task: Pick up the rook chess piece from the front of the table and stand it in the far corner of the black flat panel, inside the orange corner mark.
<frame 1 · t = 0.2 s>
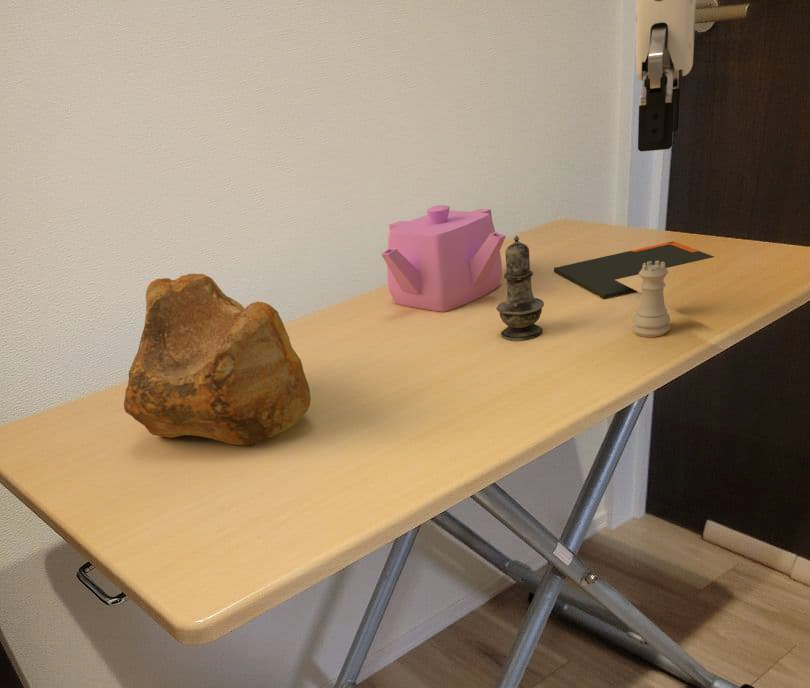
hand: (658, 140, 82), 21 cm above the table, tool pointing down, fingers open, 9 cm apart
rough brown rock: (214, 427, 90), on the table
rook chess piece: (651, 332, 96), on the table
salt shaker: (521, 334, 101), on the table
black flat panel: (640, 270, 116), on the table
teakettle: (447, 296, 118), on the table
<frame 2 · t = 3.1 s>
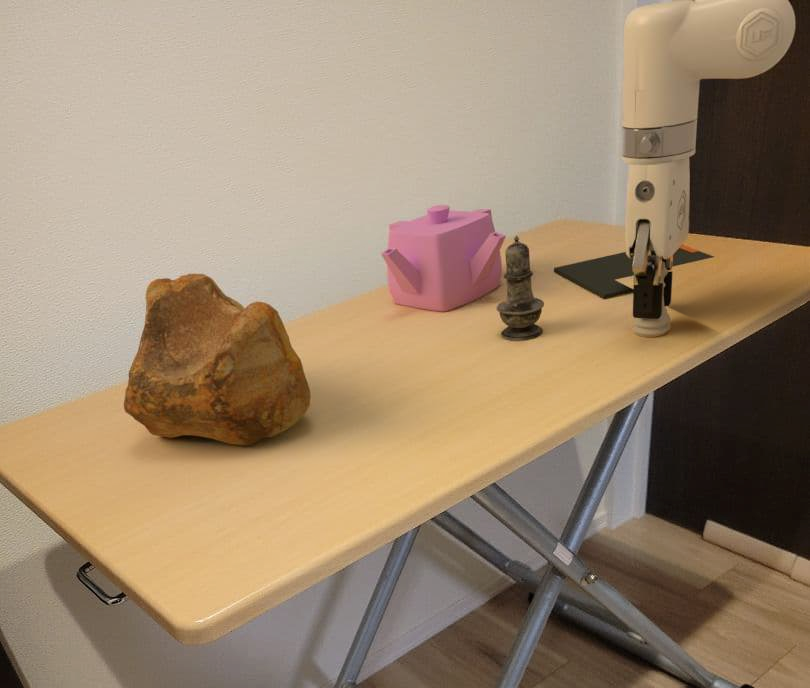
hand: (652, 309, 94), 3 cm above the table, tool pointing down, fingers closed on rook chess piece, 3 cm apart
rook chess piece: (651, 332, 96), on the table, touching gripper
everything else where it was.
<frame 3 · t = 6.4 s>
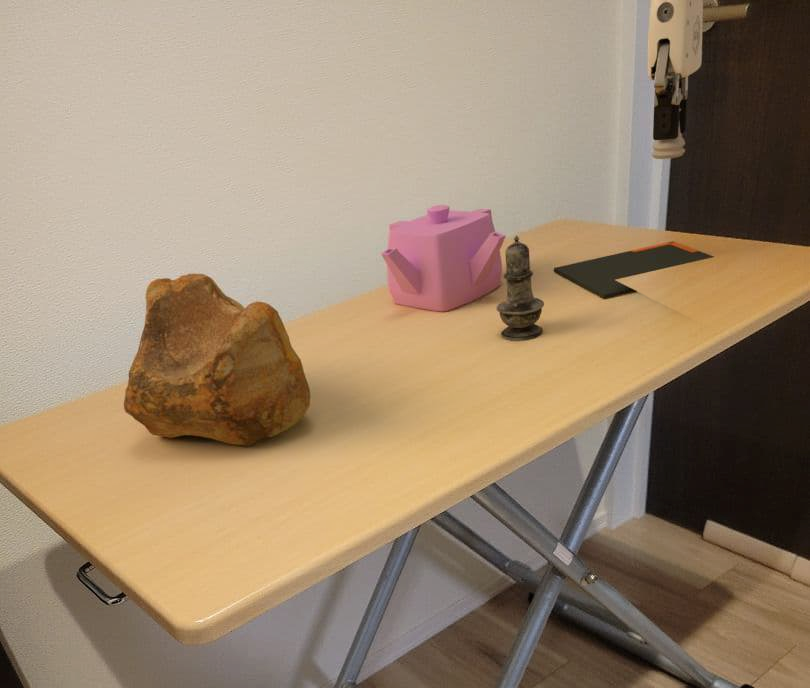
hand: (669, 134, 108), 17 cm above the table, tool pointing down, fingers closed on rook chess piece, 3 cm apart
rook chess piece: (667, 157, 109), point 14 cm above the table, touching gripper
everything else where it was.
when the fingers open (3 cm above the table, at t = 10.1 s): rook chess piece stays where it is, resting on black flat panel.
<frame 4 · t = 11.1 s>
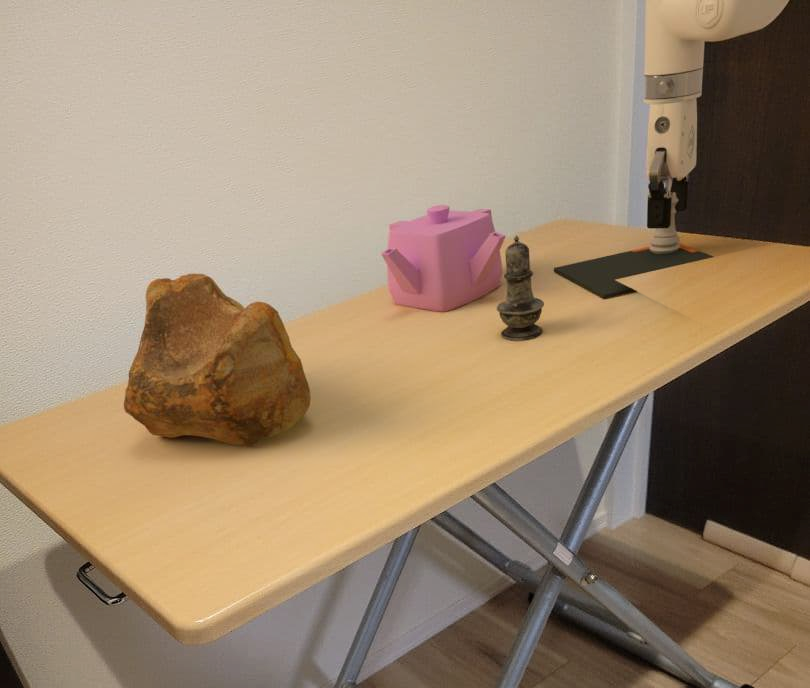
hand: (667, 218, 117), 5 cm above the table, tool pointing down, fingers open, 9 cm apart
rook chess piece: (664, 251, 120), resting on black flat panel
everything else where it was.
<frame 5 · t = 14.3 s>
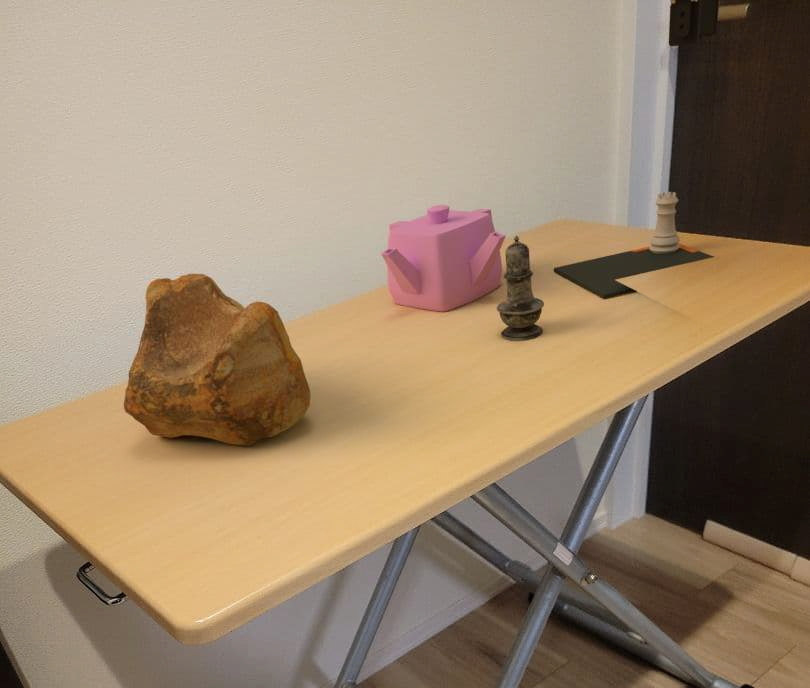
hand: (693, 40, 94), 28 cm above the table, tool pointing down, fingers open, 9 cm apart
nothing on the table moved.
at the end: rook chess piece 0.0 cm from the target spot on the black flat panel, point 0.4 cm above the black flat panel's base; rook chess piece tilted 0°; the gripper is holding nothing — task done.
